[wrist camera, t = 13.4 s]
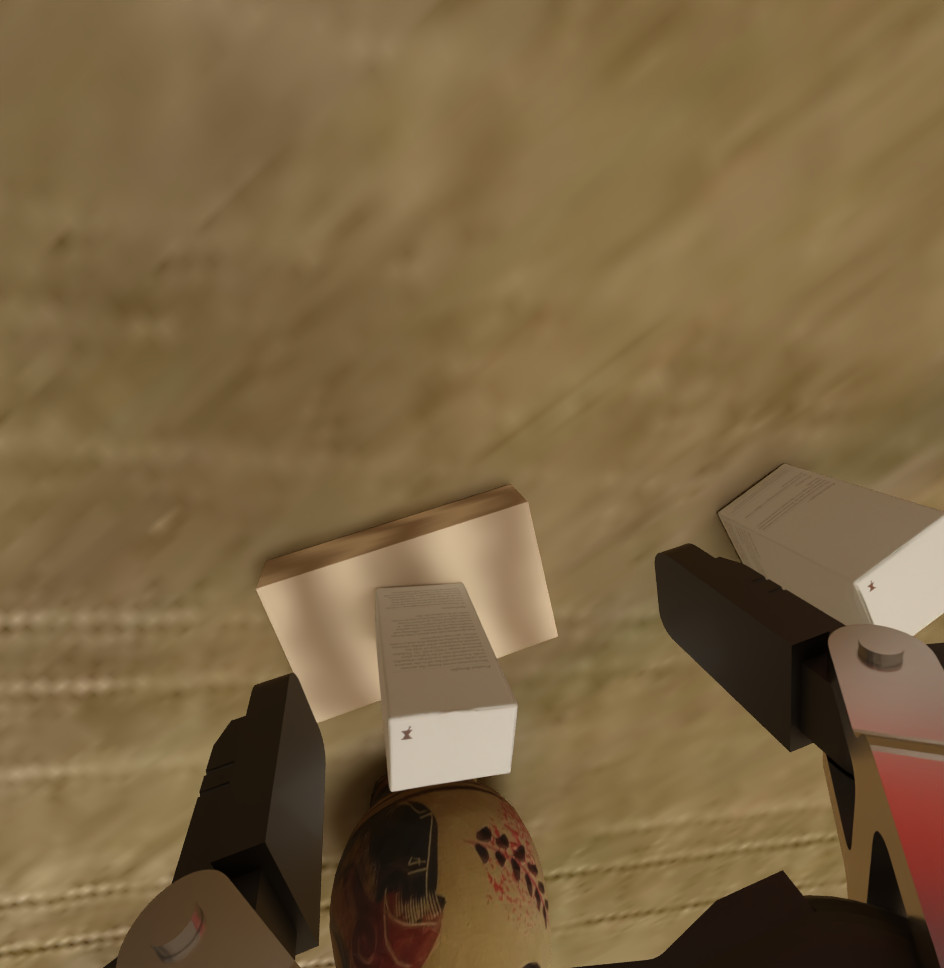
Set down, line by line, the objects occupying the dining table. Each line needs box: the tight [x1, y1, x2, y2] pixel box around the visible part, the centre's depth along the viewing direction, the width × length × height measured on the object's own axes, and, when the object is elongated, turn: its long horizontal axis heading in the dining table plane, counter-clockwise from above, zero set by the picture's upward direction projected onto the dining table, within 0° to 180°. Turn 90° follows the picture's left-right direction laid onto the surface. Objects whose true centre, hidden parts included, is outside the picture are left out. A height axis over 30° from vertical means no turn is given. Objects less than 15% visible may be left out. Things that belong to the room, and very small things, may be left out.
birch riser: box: [256, 484, 558, 723], centre depth 36 cm, size 18×11×4 cm, turn 104°
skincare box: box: [375, 583, 518, 792], centre depth 29 cm, size 6×4×12 cm
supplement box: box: [718, 464, 944, 636], centre depth 38 cm, size 7×7×13 cm
